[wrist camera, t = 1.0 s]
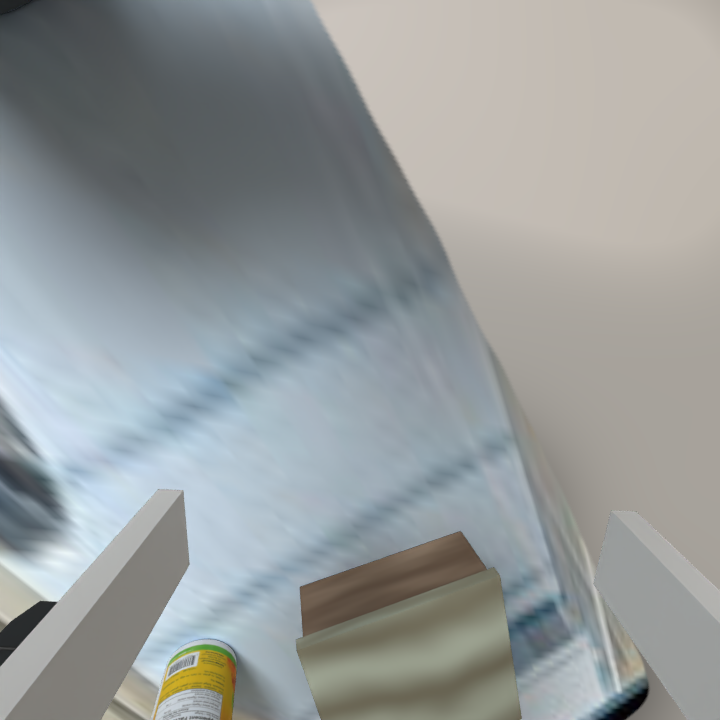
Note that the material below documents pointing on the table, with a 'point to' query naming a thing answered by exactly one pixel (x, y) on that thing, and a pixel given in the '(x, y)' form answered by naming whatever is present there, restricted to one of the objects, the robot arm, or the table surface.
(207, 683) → the supplement bottle
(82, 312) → the table surface
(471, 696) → the podium
